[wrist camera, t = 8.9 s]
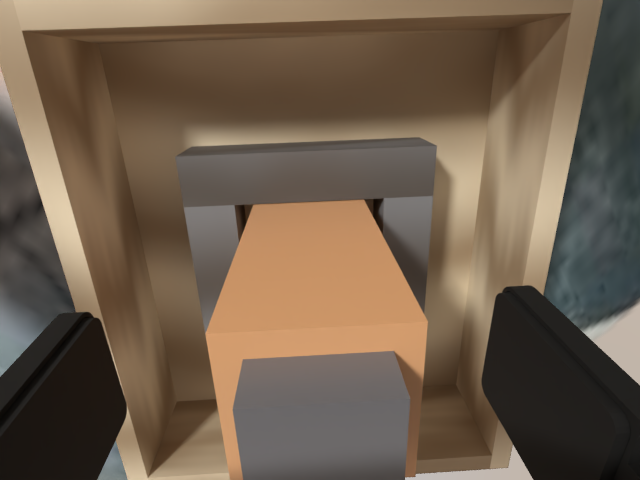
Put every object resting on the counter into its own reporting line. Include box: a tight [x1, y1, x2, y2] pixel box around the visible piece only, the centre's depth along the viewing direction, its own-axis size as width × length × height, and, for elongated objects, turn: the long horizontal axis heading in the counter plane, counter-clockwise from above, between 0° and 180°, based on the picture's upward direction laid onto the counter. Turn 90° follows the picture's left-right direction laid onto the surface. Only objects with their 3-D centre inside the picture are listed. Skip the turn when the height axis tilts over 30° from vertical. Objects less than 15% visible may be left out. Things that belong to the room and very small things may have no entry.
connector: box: [205, 199, 428, 480], centre depth 12 cm, size 4×4×11 cm
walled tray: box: [0, 0, 603, 480], centre depth 16 cm, size 18×16×5 cm
